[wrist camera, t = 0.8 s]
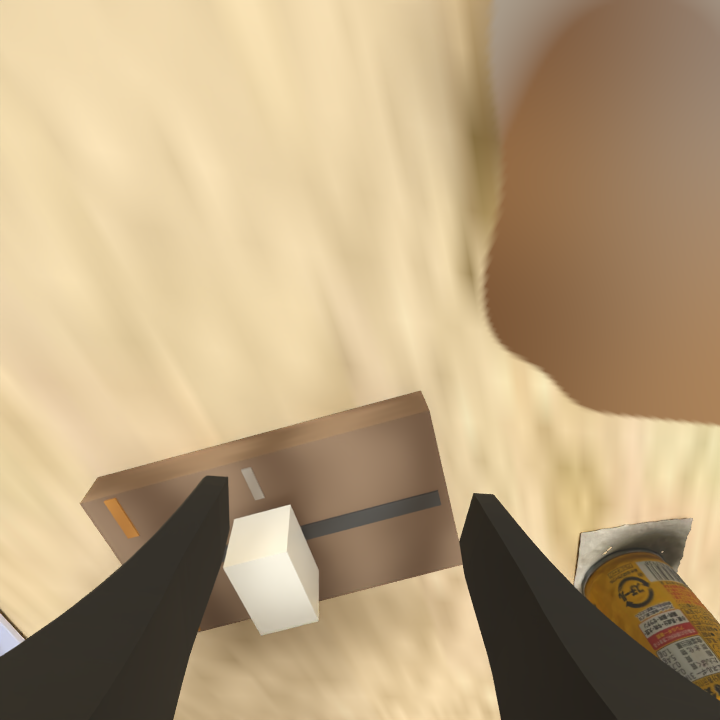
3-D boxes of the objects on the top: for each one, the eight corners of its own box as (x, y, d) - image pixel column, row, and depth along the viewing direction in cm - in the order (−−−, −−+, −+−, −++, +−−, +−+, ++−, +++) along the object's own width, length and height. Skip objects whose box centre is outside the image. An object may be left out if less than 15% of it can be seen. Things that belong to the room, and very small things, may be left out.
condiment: (569, 617, 33) (693, 847, 22) (579, 530, 29) (734, 754, 18) (666, 601, 33) (837, 822, 22) (689, 514, 29) (906, 726, 19)
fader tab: (267, 583, 25) (261, 635, 23) (234, 519, 23) (223, 567, 20) (318, 570, 25) (318, 621, 22) (290, 504, 23) (286, 551, 20)
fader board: (182, 608, 29) (173, 640, 27) (97, 477, 24) (78, 505, 22) (454, 537, 28) (464, 565, 27) (420, 390, 24) (429, 411, 22)
